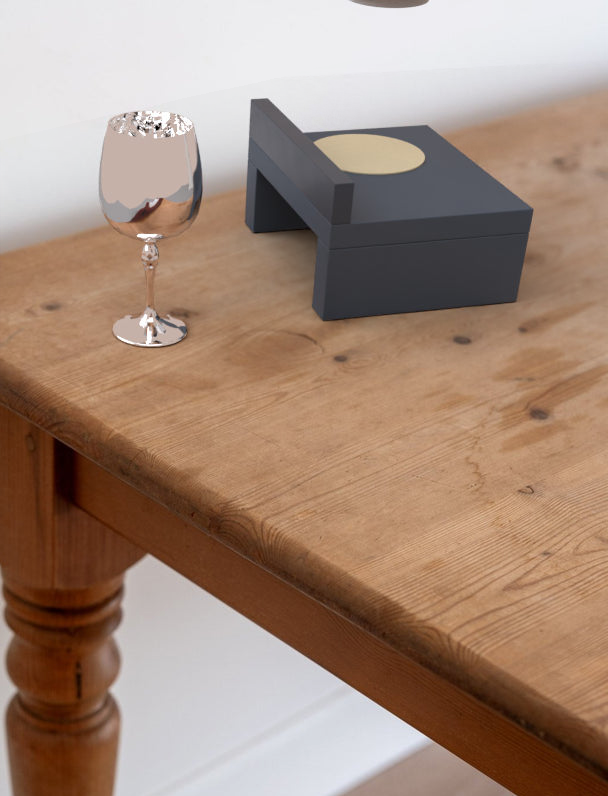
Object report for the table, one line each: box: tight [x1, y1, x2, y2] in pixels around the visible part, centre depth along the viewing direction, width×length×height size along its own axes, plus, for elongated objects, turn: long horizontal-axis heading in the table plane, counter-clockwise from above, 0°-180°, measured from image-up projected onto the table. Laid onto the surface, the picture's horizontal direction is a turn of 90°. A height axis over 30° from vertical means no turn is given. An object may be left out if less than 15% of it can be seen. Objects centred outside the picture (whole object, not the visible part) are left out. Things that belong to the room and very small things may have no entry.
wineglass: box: [97, 110, 204, 348], centre depth 73 cm, size 6×6×12 cm
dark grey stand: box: [244, 97, 535, 321], centre depth 84 cm, size 13×16×8 cm
